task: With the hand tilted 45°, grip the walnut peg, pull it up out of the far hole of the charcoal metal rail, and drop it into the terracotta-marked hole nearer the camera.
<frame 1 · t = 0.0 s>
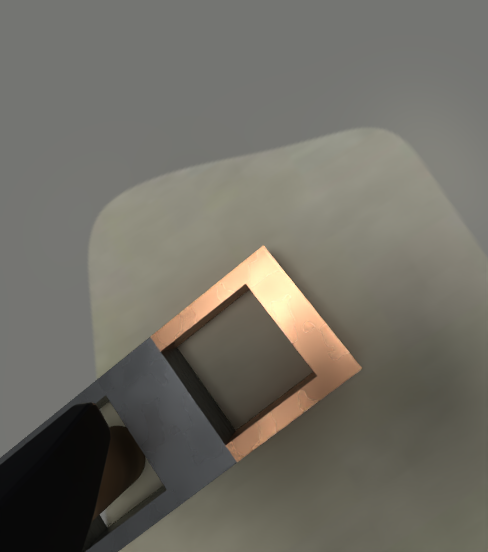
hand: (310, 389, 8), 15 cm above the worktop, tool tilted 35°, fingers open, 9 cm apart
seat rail: (179, 408, 23), on the worktop
walnut peg: (117, 456, 24), resting in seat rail
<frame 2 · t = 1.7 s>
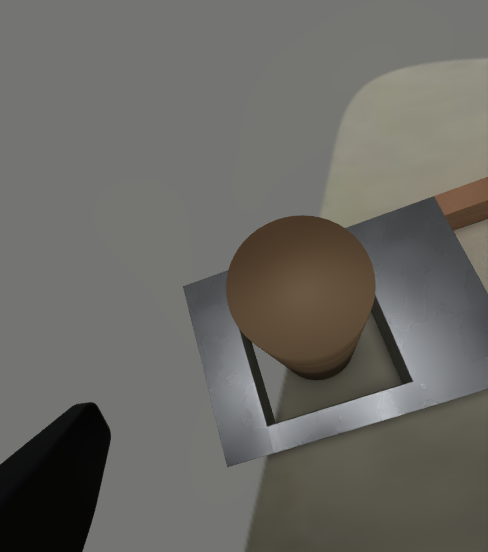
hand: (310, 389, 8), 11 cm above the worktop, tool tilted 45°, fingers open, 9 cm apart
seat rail: (417, 307, 18), on the worktop
walnut peg: (315, 341, 19), resting in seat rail
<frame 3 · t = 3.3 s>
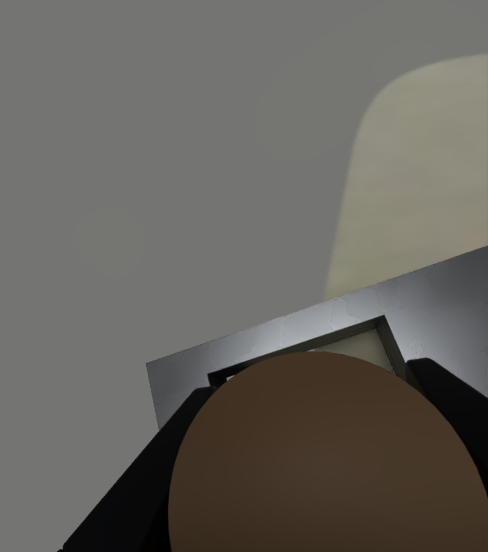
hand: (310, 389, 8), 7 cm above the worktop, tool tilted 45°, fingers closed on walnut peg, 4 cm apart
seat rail: (468, 392, 13), on the worktop
walnut peg: (327, 434, 14), resting in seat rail, touching gripper
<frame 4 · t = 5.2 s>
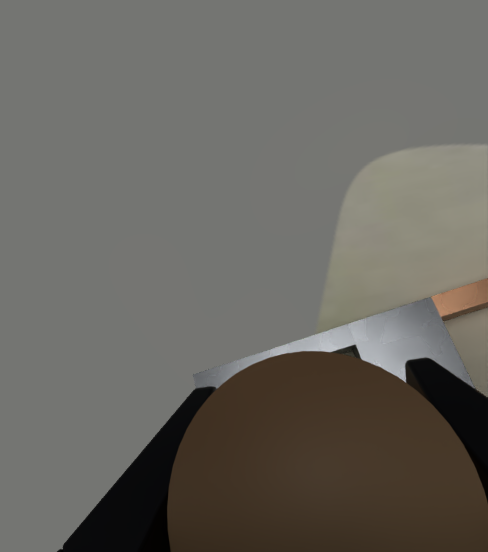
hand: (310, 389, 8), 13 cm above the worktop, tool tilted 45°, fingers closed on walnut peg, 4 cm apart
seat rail: (414, 395, 19), on the worktop
walnut peg: (327, 434, 14), point 6 cm above the worktop, touching gripper
when the fingers open (8 cm above the worktop, at t = 7.4 s): walnut peg drops 1 cm, resting in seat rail.
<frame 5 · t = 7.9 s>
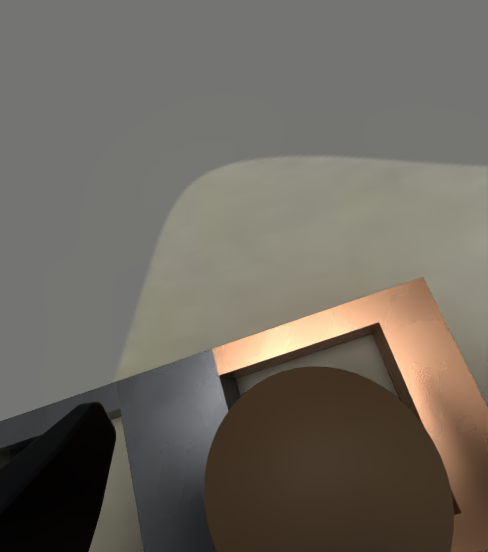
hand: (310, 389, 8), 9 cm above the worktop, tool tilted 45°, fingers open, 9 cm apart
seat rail: (209, 467, 16), on the worktop
walnut peg: (327, 432, 15), resting in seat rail
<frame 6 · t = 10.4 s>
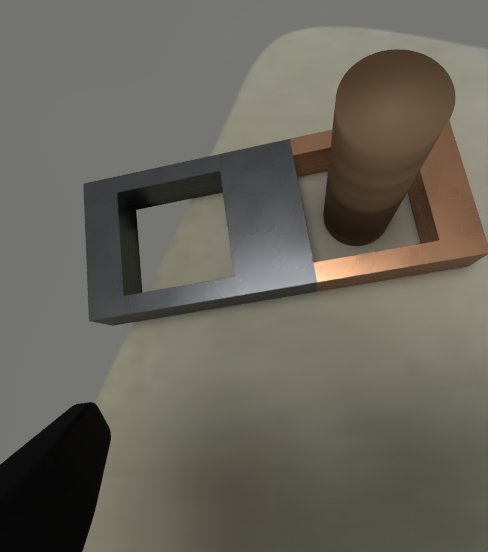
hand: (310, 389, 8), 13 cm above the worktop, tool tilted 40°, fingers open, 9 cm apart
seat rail: (269, 230, 22), on the worktop
walnut peg: (355, 215, 22), resting in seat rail
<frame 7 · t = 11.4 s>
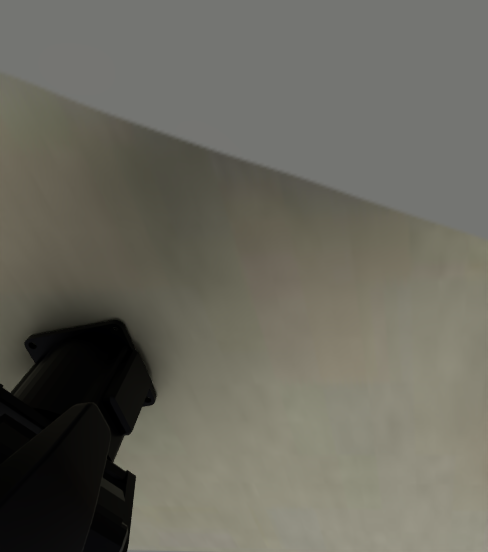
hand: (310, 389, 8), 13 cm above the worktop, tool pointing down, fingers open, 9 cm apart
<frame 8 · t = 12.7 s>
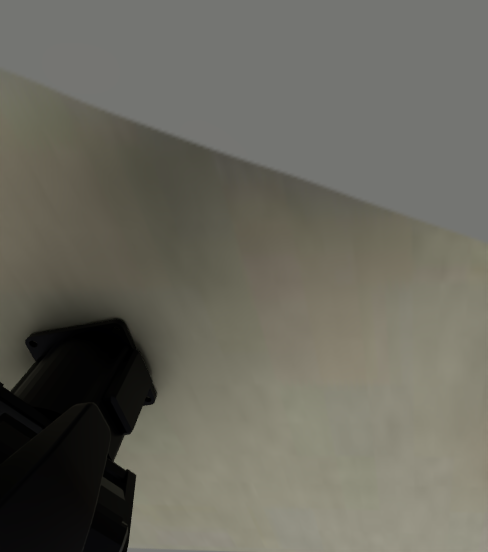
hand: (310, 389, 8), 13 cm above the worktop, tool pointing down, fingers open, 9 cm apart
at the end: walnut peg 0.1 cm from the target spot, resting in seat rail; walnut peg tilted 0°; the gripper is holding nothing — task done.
